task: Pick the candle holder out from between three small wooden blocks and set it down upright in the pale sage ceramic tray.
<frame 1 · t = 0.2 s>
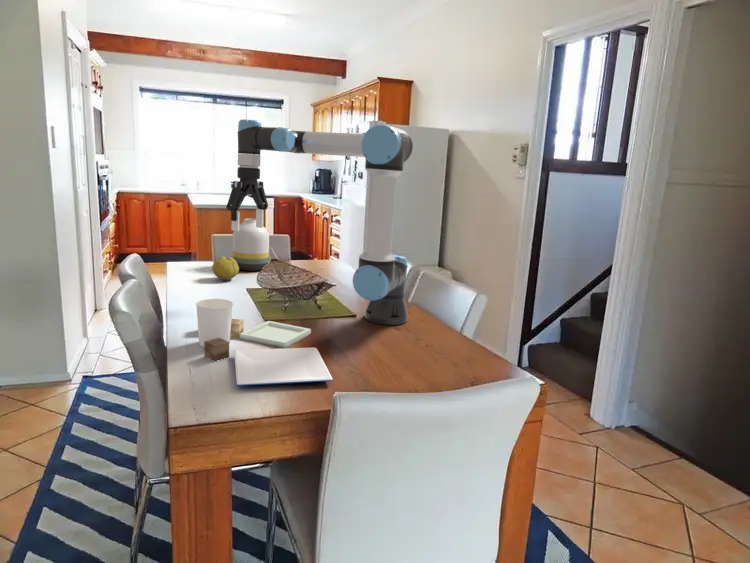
hand: (247, 229, 183), 28 cm above the table, fingers open, 13 cm apart
fruit: (225, 280, 226), on the table
oak block: (233, 335, 157), on the table
tray: (276, 336, 159), on the table
walnut block: (216, 357, 139), on the table
grey block: (209, 331, 159), on the table
vase: (250, 269, 252), on the table
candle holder: (214, 344, 149), on the table
plate: (280, 371, 133), on the table
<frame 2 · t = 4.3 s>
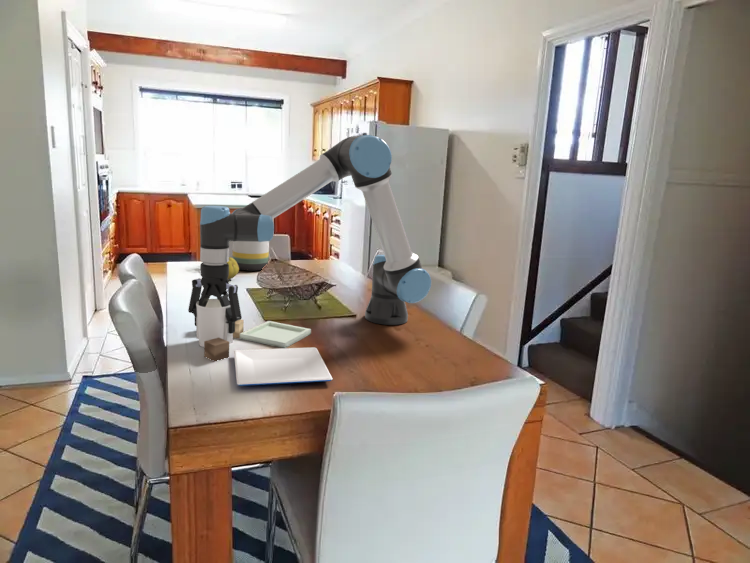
hand: (214, 340, 148), 1 cm above the table, fingers closed on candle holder, 9 cm apart
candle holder: (214, 344, 149), on the table, touching gripper
everything else where it was.
when the fingers open (3 cm above the table, at t = 10.2 s): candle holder drops 1 cm, resting on tray.
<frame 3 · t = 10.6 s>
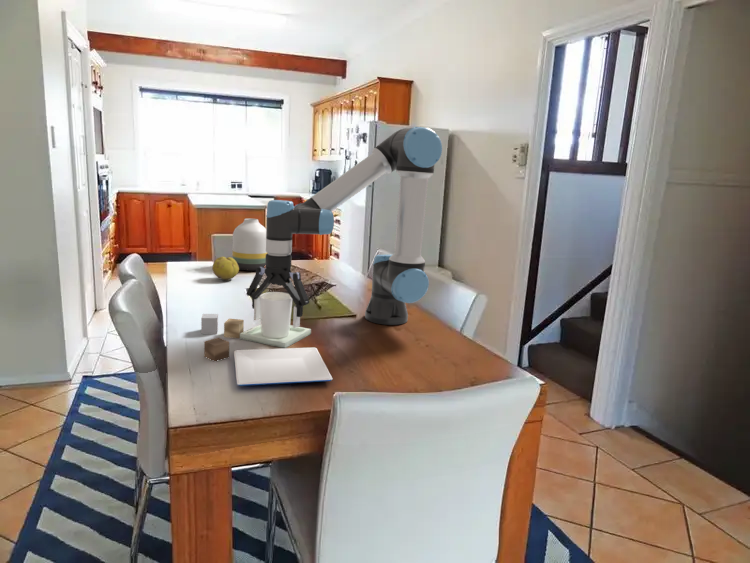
hand: (276, 323, 158), 4 cm above the table, fingers open, 13 cm apart
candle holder: (275, 334, 159), resting on tray
everything else where it was.
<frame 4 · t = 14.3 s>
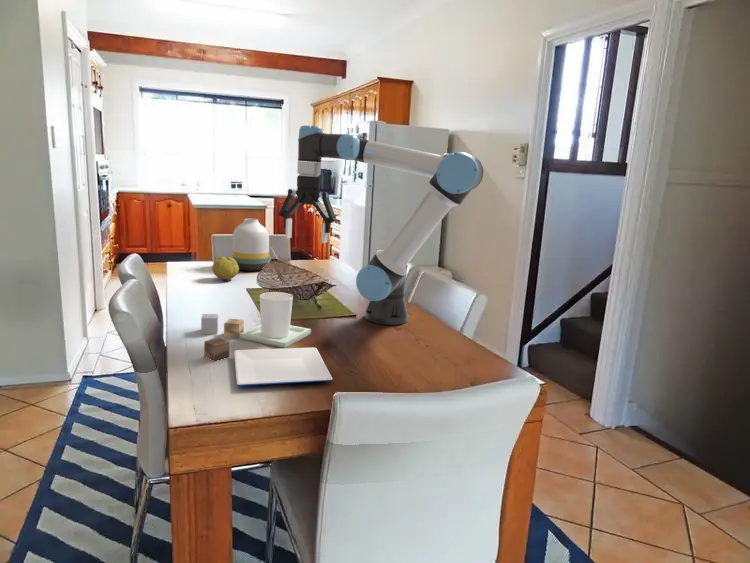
hand: (306, 240, 174), 27 cm above the table, fingers open, 13 cm apart
nothing on the table moved.
at the end: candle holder inside the target area on the tray (0.4 cm from its centre), point 0.4 cm above the tray's base; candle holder tilted 0°; the gripper is holding nothing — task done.
